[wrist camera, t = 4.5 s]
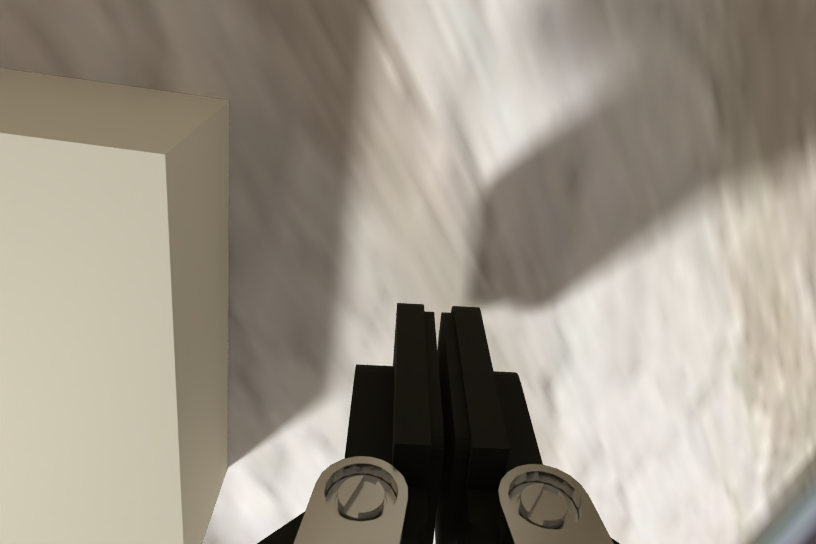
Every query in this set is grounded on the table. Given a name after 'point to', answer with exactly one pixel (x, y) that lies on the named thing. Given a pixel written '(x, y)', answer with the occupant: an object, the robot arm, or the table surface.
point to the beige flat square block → (111, 311)
